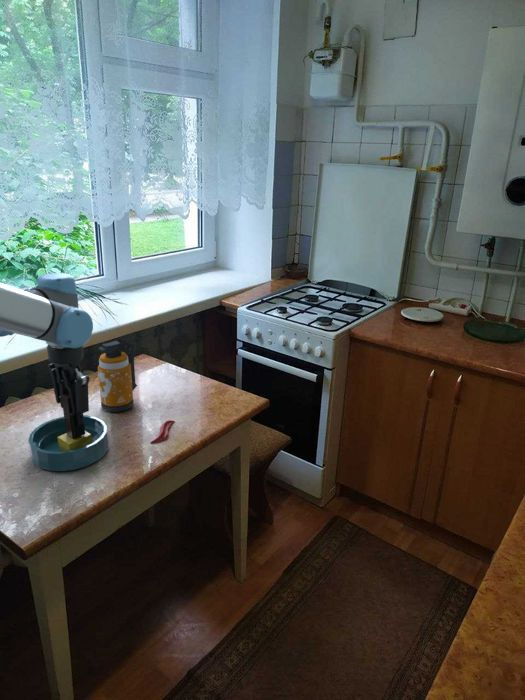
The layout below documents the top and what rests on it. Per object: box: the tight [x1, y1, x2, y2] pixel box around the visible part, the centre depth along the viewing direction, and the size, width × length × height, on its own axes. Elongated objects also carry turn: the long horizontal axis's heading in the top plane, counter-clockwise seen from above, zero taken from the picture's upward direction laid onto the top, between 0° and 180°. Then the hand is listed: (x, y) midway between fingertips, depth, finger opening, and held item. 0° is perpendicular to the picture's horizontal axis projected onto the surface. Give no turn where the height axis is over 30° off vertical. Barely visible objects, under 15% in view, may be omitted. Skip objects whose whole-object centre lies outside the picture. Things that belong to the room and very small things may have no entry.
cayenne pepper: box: [150, 419, 176, 444], centre depth 131 cm, size 12×5×2 cm, turn 154°
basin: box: [27, 414, 109, 472], centre depth 120 cm, size 18×18×6 cm
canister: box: [97, 338, 138, 413], centre depth 141 cm, size 9×11×20 cm
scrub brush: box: [58, 393, 92, 451], centre depth 118 cm, size 6×5×14 cm
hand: (75, 433), depth 120 cm, fingers closed on scrub brush, 2 cm apart
